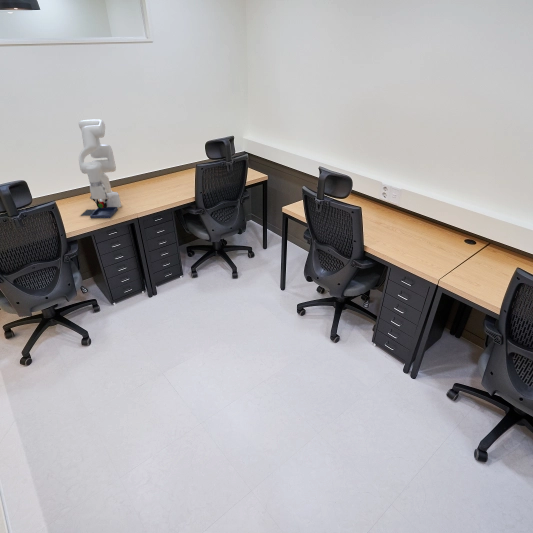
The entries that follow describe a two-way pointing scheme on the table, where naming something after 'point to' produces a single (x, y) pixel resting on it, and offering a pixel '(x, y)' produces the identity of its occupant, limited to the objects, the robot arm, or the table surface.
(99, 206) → the strawberry
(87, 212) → the mat
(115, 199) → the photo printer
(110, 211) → the tray
